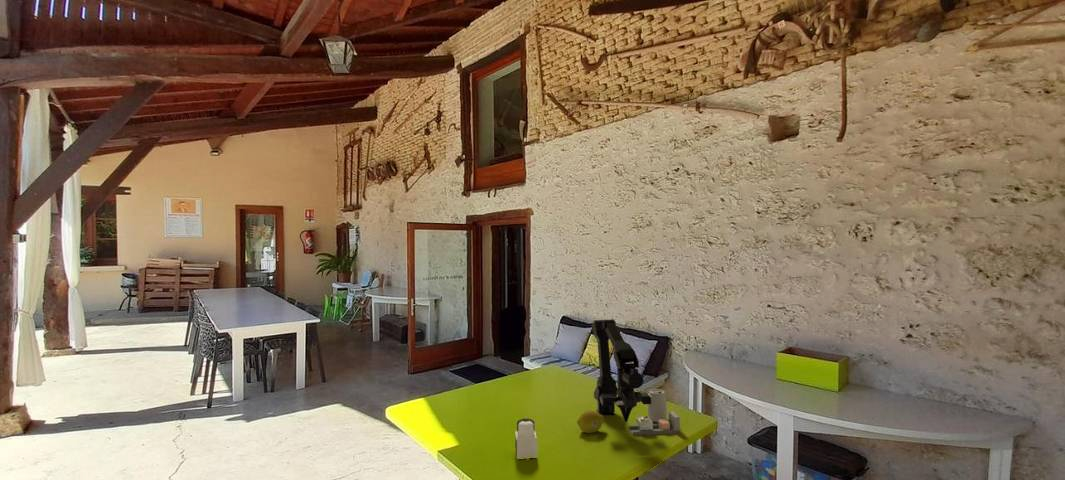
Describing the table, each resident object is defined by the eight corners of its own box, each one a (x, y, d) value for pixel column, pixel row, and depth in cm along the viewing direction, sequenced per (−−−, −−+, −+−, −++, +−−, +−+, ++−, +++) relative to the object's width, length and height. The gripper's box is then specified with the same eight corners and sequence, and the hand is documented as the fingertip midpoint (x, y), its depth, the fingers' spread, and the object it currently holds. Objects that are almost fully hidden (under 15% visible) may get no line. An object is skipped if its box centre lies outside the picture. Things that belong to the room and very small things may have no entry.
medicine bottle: (515, 451, 168) (514, 417, 168) (535, 450, 168) (534, 416, 168) (516, 460, 161) (515, 424, 161) (537, 459, 161) (536, 423, 161)
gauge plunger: (639, 433, 180) (639, 419, 180) (636, 429, 184) (636, 415, 184) (652, 433, 180) (652, 419, 180) (649, 428, 185) (648, 415, 185)
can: (667, 424, 189) (667, 394, 190) (648, 423, 191) (647, 393, 191) (666, 417, 197) (665, 388, 197) (647, 416, 198) (647, 387, 198)
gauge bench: (633, 436, 179) (633, 419, 179) (628, 429, 185) (628, 413, 185) (679, 433, 180) (679, 417, 180) (673, 427, 186) (673, 411, 186)
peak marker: (662, 432, 181) (661, 423, 181) (658, 428, 185) (658, 419, 185) (669, 432, 181) (669, 423, 181) (666, 428, 185) (665, 419, 185)
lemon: (578, 436, 179) (577, 415, 179) (575, 428, 187) (575, 408, 187) (606, 435, 180) (606, 414, 180) (603, 427, 187) (602, 407, 187)
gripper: (605, 388, 173) (606, 431, 173) (655, 386, 174) (656, 428, 174) (599, 379, 184) (600, 419, 184) (646, 377, 185) (647, 417, 185)
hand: (625, 421), depth 182 cm, fingers closed
